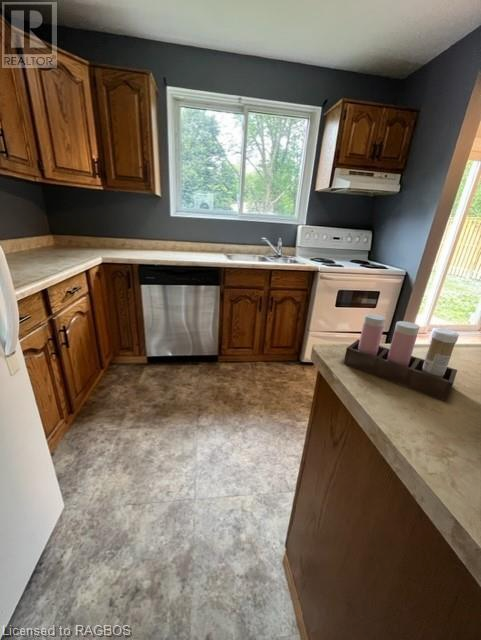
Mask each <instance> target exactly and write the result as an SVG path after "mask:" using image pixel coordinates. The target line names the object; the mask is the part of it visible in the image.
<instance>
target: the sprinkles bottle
mask: <svg viewBox="0 0 481 640" xmlns="http://www.w3.org/2000/svg"><path fill="white" fill-rule="evenodd" d="M459 335H460V334H459V332H457V331H455V330H452V329H449V328H444V327H435V328H434V329H433V330H432V335H431V340H430V344H429V347H428V350H427V352H426V355H425V358H424V360H425V361H424V364H423V367H422V372H425V373H428V374H431V375H434V376H437V377H440V378H443V375H444V374H445V371H446V369H447V367H449V363H450V360H451V358H452V353H453V351H454V348H455V345H456V344H457V342H458V339H459Z"/></svg>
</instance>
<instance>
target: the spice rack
mask: <svg viewBox="0 0 481 640" xmlns="http://www.w3.org/2000/svg"><path fill="white" fill-rule="evenodd" d="M359 342H360V338H358V339H357V340H355V341H354V342H353V343H351V344H350V345H349V346H347V347H346V350H345V354H344V355H345V356H344V361H343V364H345V365H348V366H350V367H353V368H355V369H358V370H361V371H364V372H367V373H369V374H372V375H375V376H377V377H379V378H382V379H384V380H387V381H390V382H393V383H396V384H398V385H401V386H404V387H406V388H409V389H412V390H414V391H416V392H417V391H418V392H420V393H423V394H425V395H428V396H430V397H433V398H436V399H438V400H441V401H443V402H447V401H448V399H449V397H450V394H451V391H452V388H453V386H454V383H455V379H456V377H457V373H458V369H456V368H453V367H450V366H447V369H446V371H445V374H444V375H443V378H440V377H437V376H434V375H431V374H428V373H425V372H422V367H423V364H424V361H425V358H424V359H423V358H421V357H417V356H413V355H411V358H410V362H409V365H408V367H407V366H404V365H401V364H398V363H395V362H392V361H389V360H387V357H388V353H389V350H390V348H388V347H385V346H381V345H379V348H378V353H377V356H374V355H371V354H368V353H365V352H362V351H359V350H358V346H359Z"/></svg>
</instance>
